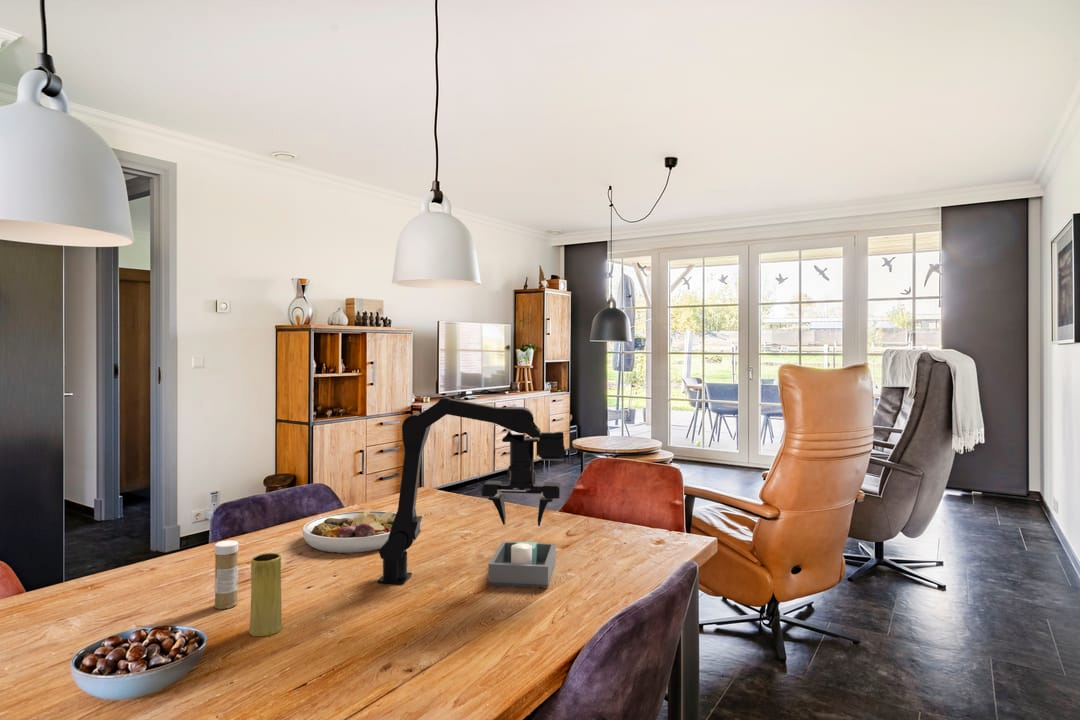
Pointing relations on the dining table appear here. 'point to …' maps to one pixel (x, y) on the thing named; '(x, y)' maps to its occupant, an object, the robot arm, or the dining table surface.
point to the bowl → (349, 531)
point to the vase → (265, 595)
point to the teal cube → (534, 551)
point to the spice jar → (226, 574)
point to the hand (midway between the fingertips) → (521, 525)
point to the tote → (522, 567)
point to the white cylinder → (521, 554)
